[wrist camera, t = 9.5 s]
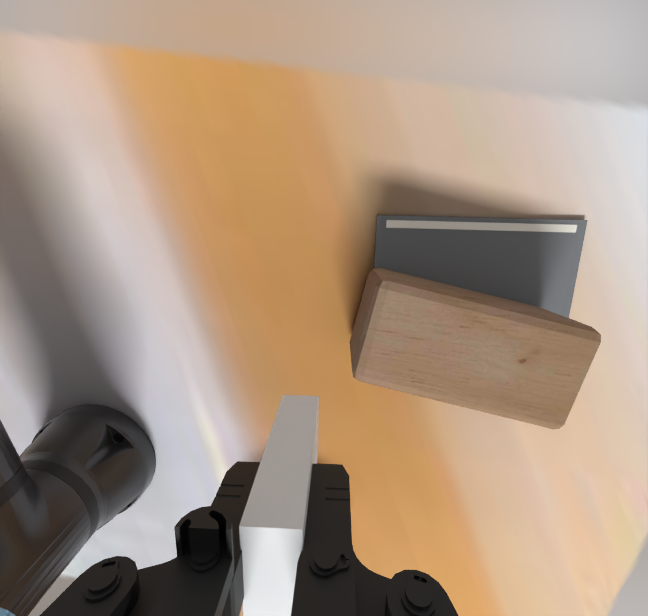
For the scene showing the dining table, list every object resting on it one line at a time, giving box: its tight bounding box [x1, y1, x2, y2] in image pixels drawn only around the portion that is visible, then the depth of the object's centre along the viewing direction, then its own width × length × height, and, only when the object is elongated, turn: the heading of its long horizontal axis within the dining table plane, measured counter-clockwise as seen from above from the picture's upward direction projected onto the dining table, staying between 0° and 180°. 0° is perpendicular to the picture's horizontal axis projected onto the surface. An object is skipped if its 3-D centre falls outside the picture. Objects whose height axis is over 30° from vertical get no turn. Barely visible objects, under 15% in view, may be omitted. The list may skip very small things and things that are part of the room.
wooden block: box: [350, 268, 601, 429], centre depth 35 cm, size 10×10×20 cm
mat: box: [374, 215, 587, 318], centre depth 39 cm, size 22×17×1 cm
